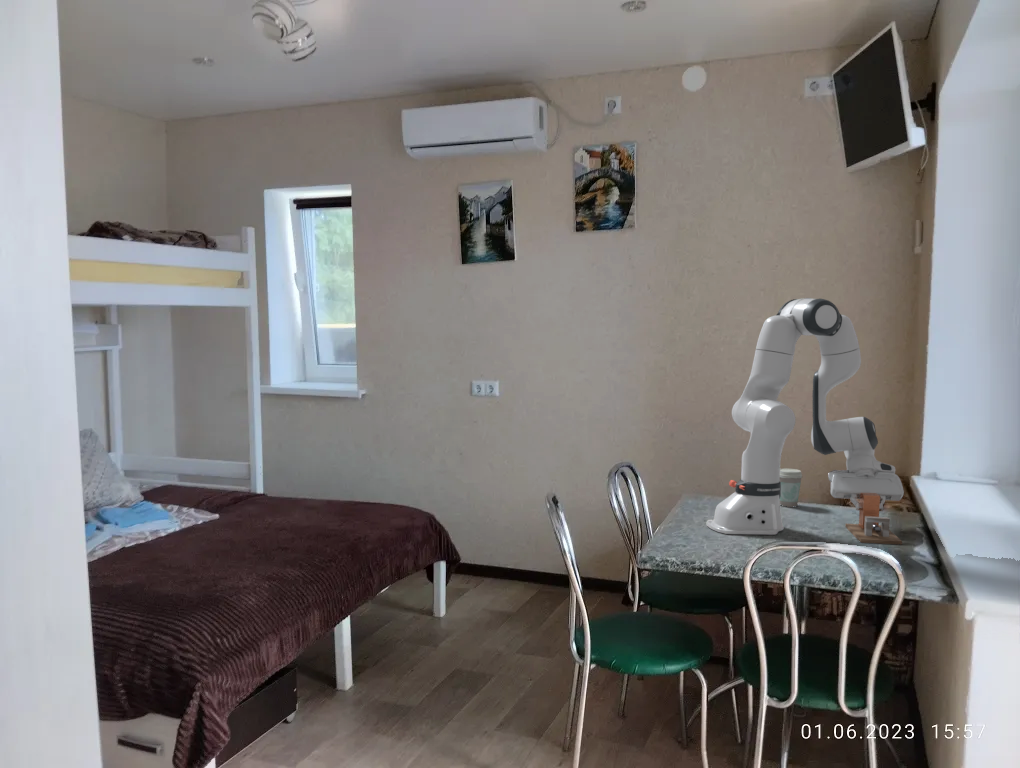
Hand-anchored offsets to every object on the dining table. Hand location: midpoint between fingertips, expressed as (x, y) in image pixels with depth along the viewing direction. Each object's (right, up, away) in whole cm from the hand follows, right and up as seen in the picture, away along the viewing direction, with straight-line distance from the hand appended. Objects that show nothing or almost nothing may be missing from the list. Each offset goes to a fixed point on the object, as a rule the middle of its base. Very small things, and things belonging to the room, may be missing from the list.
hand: (869, 509), depth 242 cm
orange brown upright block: (-1, -6, -3) cm, 6 cm away
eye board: (-1, -7, -4) cm, 8 cm away
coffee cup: (-12, -4, +35) cm, 37 cm away
